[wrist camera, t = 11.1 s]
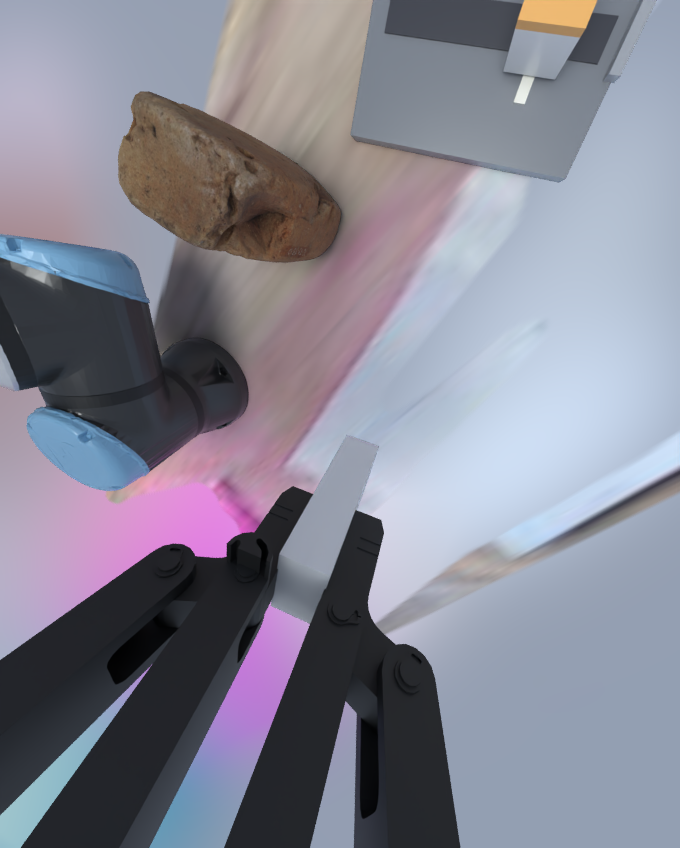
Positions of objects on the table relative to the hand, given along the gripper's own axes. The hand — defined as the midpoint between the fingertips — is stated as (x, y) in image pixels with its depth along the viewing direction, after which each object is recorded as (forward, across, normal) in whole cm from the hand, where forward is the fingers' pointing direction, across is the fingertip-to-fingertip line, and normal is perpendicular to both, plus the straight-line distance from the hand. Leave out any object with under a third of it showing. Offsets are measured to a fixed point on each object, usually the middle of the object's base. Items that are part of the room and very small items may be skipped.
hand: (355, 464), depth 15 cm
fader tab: (+27, +2, +24) cm, 36 cm away
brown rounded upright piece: (+30, -17, +9) cm, 35 cm away
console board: (+29, -2, +24) cm, 38 cm away
